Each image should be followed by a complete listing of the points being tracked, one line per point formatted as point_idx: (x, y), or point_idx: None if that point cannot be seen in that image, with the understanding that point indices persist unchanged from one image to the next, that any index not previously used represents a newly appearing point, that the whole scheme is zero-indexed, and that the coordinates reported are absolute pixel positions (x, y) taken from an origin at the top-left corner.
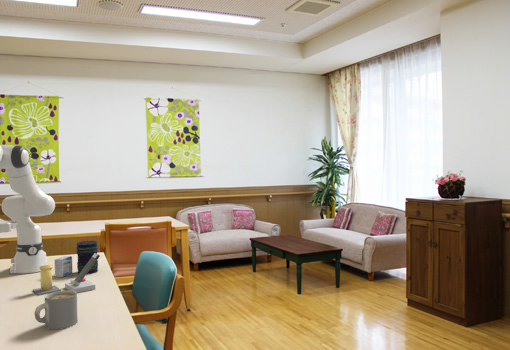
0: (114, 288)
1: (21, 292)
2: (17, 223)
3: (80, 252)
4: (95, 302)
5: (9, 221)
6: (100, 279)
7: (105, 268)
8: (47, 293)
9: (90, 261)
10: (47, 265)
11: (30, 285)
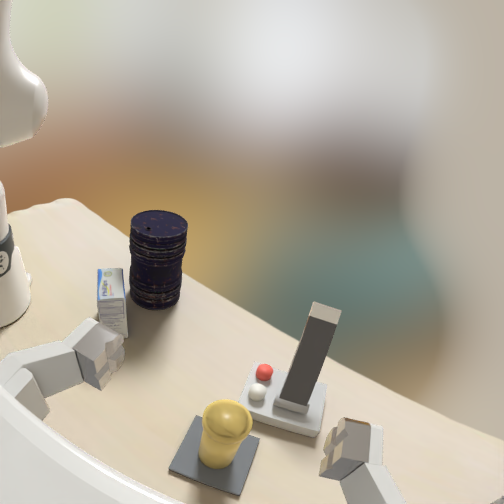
0: (349, 369)
1: None
2: (379, 460)
3: (157, 259)
4: (418, 445)
5: (58, 361)
6: (247, 332)
7: None
8: (247, 473)
9: (317, 334)
10: (218, 407)
11: (102, 424)
